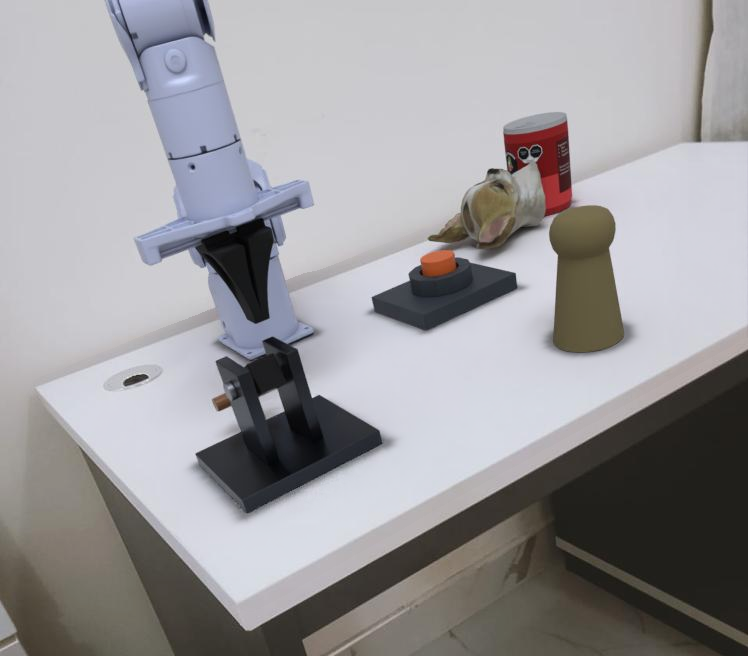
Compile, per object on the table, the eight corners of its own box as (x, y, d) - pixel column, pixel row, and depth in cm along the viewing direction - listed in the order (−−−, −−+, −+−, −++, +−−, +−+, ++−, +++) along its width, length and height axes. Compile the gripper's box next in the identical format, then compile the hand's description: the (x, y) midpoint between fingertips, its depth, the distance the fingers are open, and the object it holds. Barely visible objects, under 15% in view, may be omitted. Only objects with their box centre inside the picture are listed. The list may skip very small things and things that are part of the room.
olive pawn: (626, 347, 63) (622, 214, 57) (552, 355, 65) (541, 227, 58) (622, 319, 68) (618, 192, 62) (553, 327, 69) (542, 205, 63)
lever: (220, 419, 64) (207, 393, 63) (271, 395, 66) (259, 370, 65) (244, 401, 55) (229, 371, 54) (303, 374, 56) (289, 345, 56)
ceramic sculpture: (565, 147, 88) (471, 195, 83) (574, 220, 93) (485, 270, 88) (502, 147, 96) (413, 191, 91) (513, 215, 101) (429, 260, 96)
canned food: (502, 212, 103) (492, 126, 97) (555, 196, 104) (548, 109, 98) (528, 222, 97) (519, 131, 91) (583, 205, 98) (578, 113, 92)
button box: (374, 311, 83) (367, 281, 81) (460, 273, 87) (455, 243, 85) (426, 330, 75) (420, 297, 73) (517, 288, 79) (514, 255, 77)
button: (416, 275, 80) (413, 259, 79) (443, 264, 81) (440, 248, 80) (436, 281, 77) (433, 264, 76) (463, 269, 78) (461, 252, 78)
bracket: (199, 465, 62) (160, 369, 57) (322, 406, 66) (295, 312, 61) (247, 513, 55) (206, 407, 50) (382, 443, 59) (357, 339, 54)
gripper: (127, 181, 51) (196, 363, 58) (311, 121, 56) (353, 296, 63) (102, 175, 56) (168, 342, 64) (272, 121, 61) (315, 282, 68)
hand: (258, 318), depth 64 cm, fingers closed
